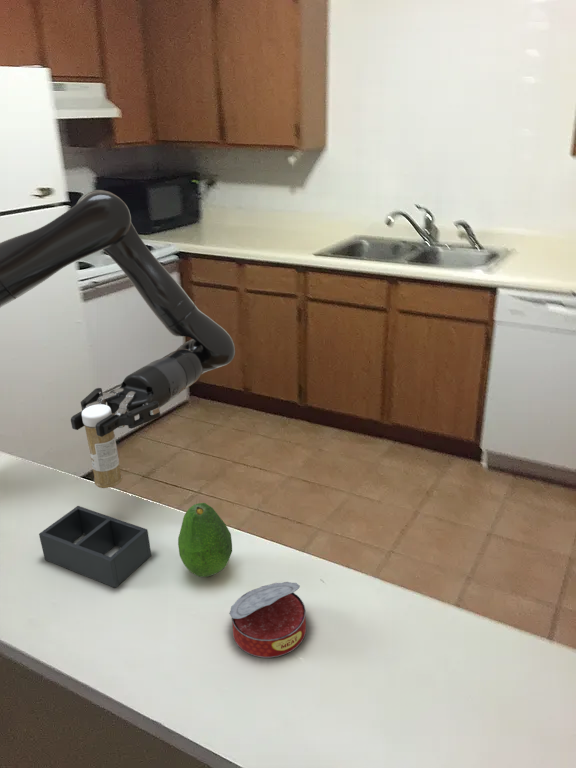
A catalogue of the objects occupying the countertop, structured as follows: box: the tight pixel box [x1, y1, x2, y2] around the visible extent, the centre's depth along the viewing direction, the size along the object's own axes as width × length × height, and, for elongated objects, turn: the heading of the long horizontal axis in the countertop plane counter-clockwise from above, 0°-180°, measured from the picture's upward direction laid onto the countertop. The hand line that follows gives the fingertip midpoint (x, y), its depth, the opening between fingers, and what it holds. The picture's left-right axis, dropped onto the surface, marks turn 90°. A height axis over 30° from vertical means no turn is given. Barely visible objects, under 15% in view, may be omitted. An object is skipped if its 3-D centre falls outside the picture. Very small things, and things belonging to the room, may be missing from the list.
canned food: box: [228, 581, 307, 659], centre depth 88 cm, size 11×10×10 cm
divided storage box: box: [38, 505, 152, 589], centre depth 104 cm, size 14×8×5 cm, turn 61°
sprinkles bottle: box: [81, 404, 123, 489], centre depth 108 cm, size 5×5×14 cm
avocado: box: [177, 502, 233, 578], centre depth 98 cm, size 8×8×12 cm
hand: (85, 427), depth 104 cm, fingers closed on sprinkles bottle, 4 cm apart
